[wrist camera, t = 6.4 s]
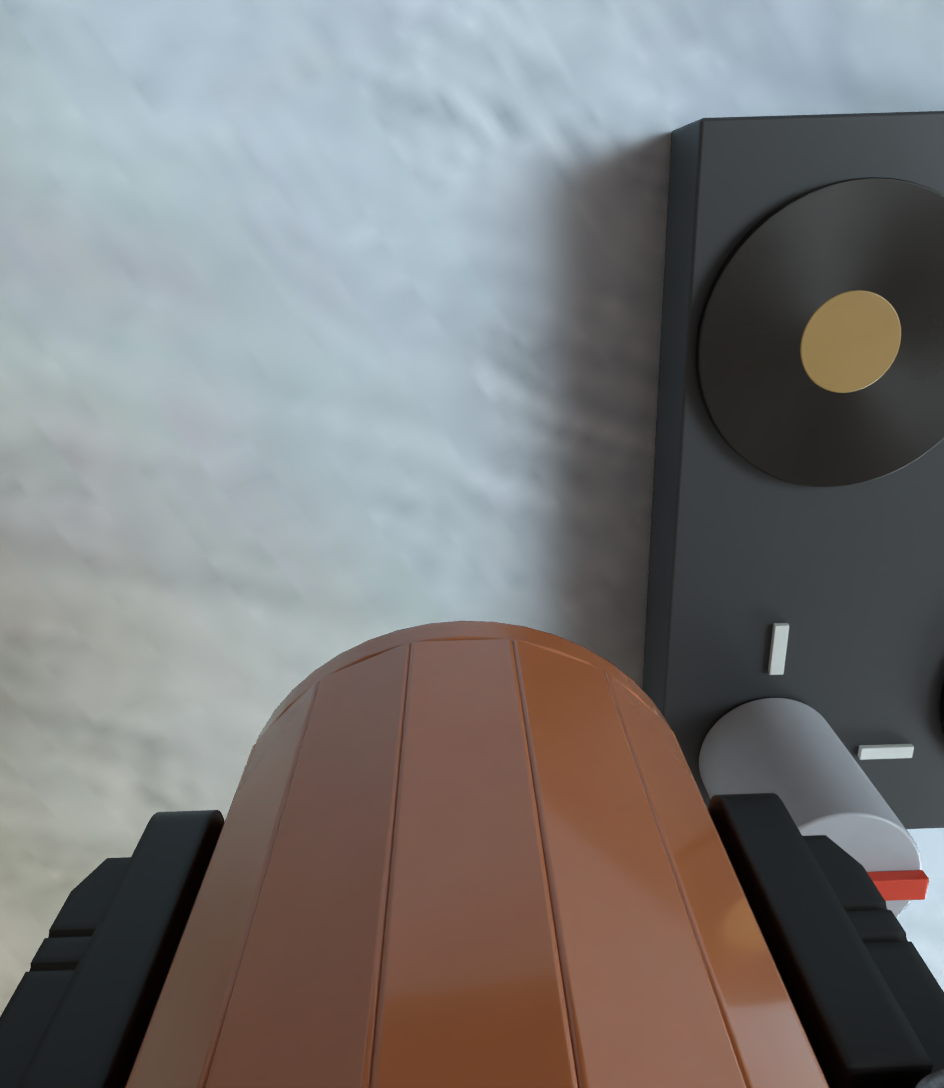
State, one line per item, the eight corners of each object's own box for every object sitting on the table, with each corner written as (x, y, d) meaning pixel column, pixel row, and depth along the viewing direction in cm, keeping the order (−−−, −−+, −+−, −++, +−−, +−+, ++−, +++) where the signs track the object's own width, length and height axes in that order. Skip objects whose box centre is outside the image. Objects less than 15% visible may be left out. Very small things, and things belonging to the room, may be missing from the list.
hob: (599, 815, 26) (615, 878, 24) (622, 131, 19) (647, 118, 17) (1082, 799, 26) (1147, 859, 24) (1279, 112, 19) (1400, 96, 17)
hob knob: (693, 812, 23) (752, 959, 18) (702, 699, 22) (768, 826, 17) (824, 808, 23) (915, 953, 18) (841, 694, 22) (944, 820, 17)
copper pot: (268, 991, 12) (113, 1647, 7) (214, 625, 10) (-83, 1136, 4) (673, 976, 12) (861, 1611, 7) (704, 611, 10) (1020, 1096, 5)
